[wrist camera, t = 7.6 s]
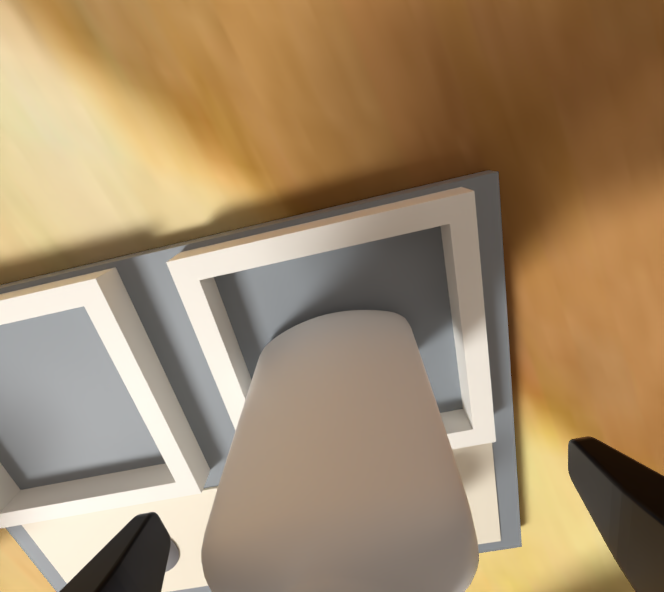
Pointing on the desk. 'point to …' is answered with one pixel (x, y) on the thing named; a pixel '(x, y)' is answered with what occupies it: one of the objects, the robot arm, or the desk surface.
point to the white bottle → (341, 470)
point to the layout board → (239, 365)
